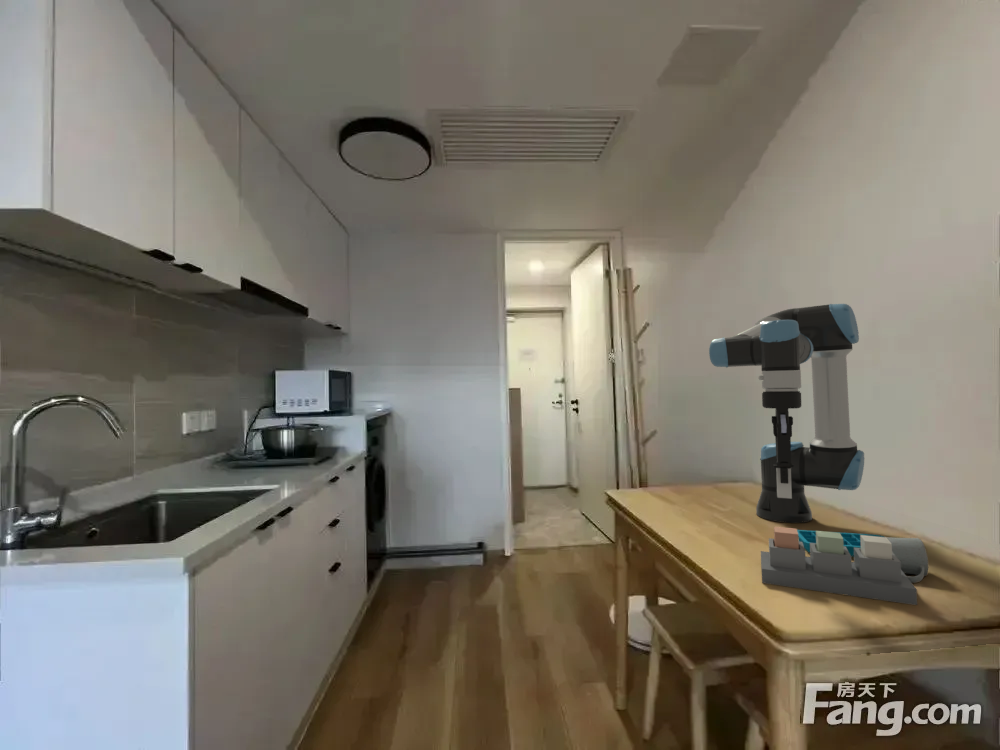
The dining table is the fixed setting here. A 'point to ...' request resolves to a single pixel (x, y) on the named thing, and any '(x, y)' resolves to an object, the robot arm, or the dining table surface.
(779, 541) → the terracotta key
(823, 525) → the dining table surface
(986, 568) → the dining table surface
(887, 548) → the ivory key
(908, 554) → the ceramic mug
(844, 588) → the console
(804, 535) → the ice cube tray
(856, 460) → the robot arm
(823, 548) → the sage key
